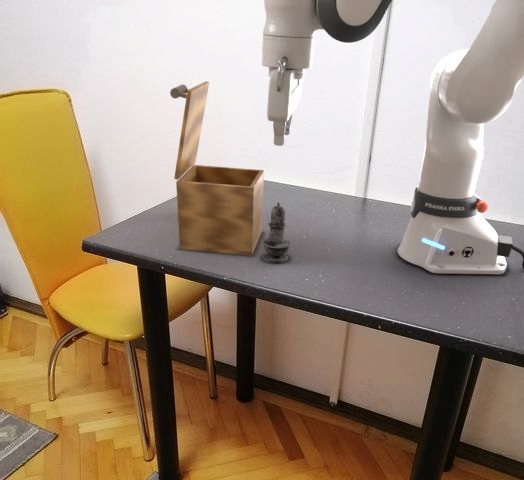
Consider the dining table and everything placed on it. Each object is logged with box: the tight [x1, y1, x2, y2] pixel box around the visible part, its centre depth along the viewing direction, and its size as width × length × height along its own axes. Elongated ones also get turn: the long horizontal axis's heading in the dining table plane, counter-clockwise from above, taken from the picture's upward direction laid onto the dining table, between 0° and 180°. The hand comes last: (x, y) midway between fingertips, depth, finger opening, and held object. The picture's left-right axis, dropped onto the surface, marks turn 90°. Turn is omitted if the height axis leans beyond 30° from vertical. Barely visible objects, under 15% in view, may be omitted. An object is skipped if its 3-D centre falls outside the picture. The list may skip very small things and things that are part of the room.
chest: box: [175, 164, 265, 257], centre depth 115 cm, size 16×14×14 cm
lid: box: [169, 80, 210, 181], centre depth 107 cm, size 17×14×5 cm
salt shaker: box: [261, 202, 291, 264], centre depth 109 cm, size 6×6×12 cm
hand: (282, 139), depth 100 cm, fingers open, 8 cm apart
